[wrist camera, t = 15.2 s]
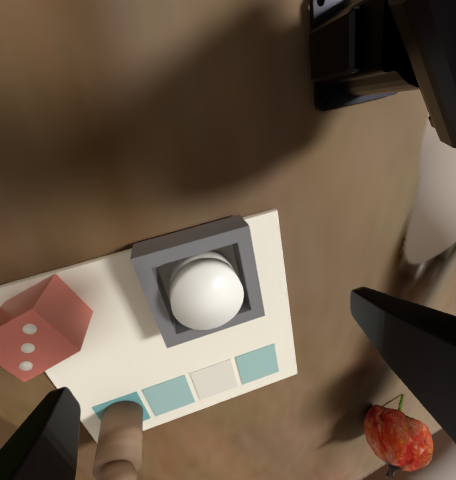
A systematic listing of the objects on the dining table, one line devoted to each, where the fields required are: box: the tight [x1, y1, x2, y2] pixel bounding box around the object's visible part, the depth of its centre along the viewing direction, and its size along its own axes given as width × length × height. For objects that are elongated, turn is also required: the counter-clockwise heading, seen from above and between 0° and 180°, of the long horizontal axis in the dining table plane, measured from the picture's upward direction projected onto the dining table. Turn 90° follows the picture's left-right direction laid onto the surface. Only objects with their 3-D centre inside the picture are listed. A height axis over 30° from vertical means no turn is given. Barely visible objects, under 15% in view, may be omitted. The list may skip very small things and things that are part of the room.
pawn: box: [93, 401, 143, 480], centre depth 22 cm, size 4×4×7 cm
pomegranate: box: [364, 394, 433, 479], centre depth 34 cm, size 7×7×10 cm
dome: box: [169, 250, 244, 330], centre depth 20 cm, size 5×5×3 cm
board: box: [0, 208, 297, 443], centre depth 24 cm, size 21×19×1 cm
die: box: [0, 273, 93, 383], centre depth 18 cm, size 4×4×4 cm
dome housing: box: [130, 215, 265, 348], centre depth 21 cm, size 8×8×2 cm
